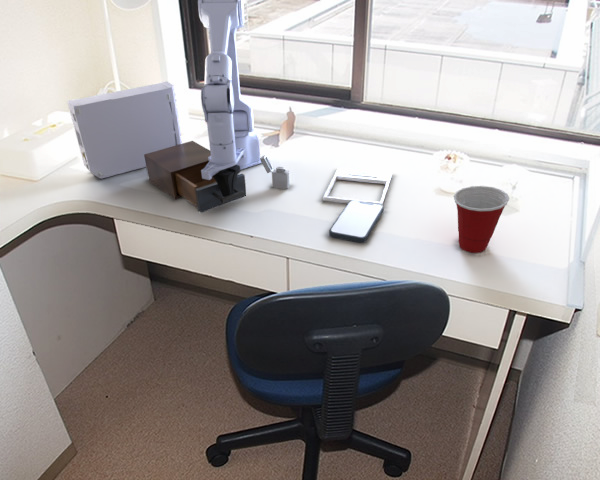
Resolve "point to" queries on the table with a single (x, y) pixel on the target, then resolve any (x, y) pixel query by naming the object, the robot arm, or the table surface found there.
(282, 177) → the lighter
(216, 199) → the drawer
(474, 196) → the plastic cup
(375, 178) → the photo frame
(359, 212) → the smartphone
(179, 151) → the cabinet
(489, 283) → the table surface
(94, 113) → the game console
